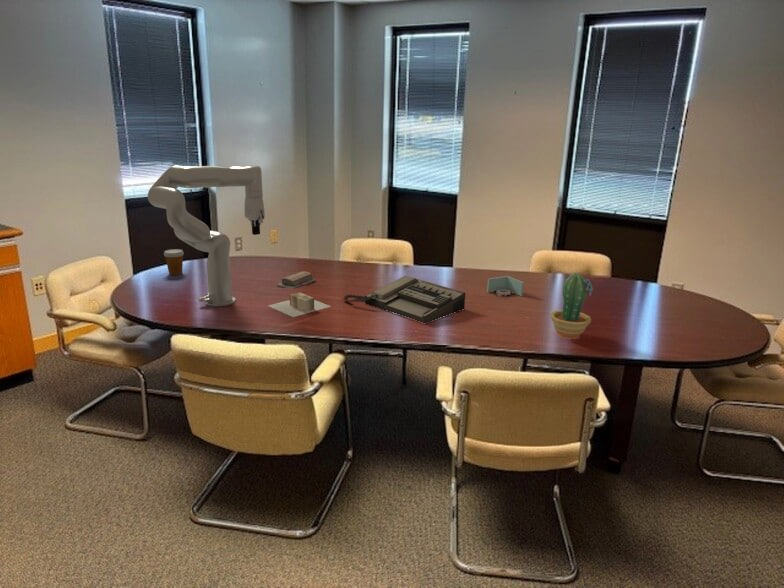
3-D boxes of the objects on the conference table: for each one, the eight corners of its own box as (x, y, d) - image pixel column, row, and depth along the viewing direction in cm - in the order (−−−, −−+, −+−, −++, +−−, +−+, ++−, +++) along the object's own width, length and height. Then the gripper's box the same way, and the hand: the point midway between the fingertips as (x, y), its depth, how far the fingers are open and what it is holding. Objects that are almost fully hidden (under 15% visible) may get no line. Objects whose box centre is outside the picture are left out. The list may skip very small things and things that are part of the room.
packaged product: (299, 269, 285) (315, 272, 281) (300, 278, 287) (315, 281, 282) (276, 277, 270) (292, 280, 266) (276, 287, 272) (292, 290, 267)
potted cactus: (572, 346, 209) (580, 282, 201) (539, 333, 221) (546, 272, 213) (597, 337, 217) (606, 276, 210) (564, 325, 229) (571, 266, 221)
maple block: (289, 305, 244) (304, 311, 237) (289, 294, 242) (304, 300, 235) (299, 302, 247) (314, 309, 240) (298, 292, 246) (314, 298, 238)
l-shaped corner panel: (486, 293, 270) (487, 278, 267) (506, 290, 275) (507, 275, 273) (502, 300, 260) (503, 285, 257) (522, 297, 265) (524, 282, 263)
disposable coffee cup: (166, 271, 291) (164, 249, 288) (185, 270, 294) (183, 248, 290) (165, 276, 283) (162, 253, 279) (185, 275, 285) (183, 252, 282)
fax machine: (337, 303, 251) (337, 282, 248) (390, 287, 275) (390, 269, 272) (412, 330, 222) (412, 308, 219) (464, 310, 246) (465, 289, 243)
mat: (293, 318, 230) (293, 317, 230) (267, 306, 243) (267, 305, 243) (331, 307, 244) (331, 306, 244) (304, 297, 257) (304, 296, 256)
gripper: (237, 192, 253) (240, 232, 259) (255, 196, 243) (257, 238, 249) (252, 191, 258) (254, 230, 264) (270, 195, 248) (272, 235, 254)
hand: (256, 234), depth 257 cm, fingers closed
